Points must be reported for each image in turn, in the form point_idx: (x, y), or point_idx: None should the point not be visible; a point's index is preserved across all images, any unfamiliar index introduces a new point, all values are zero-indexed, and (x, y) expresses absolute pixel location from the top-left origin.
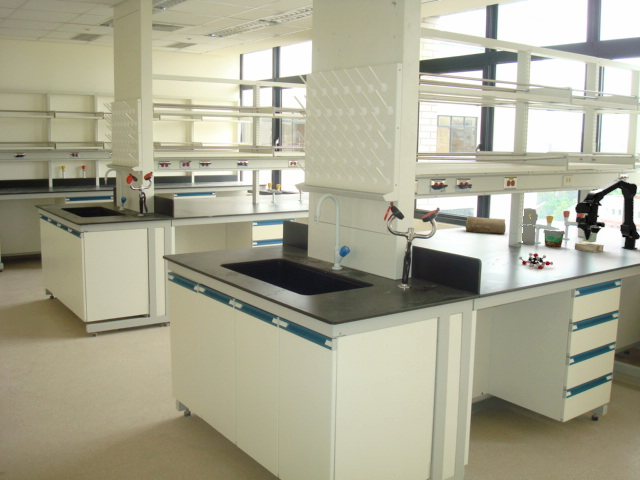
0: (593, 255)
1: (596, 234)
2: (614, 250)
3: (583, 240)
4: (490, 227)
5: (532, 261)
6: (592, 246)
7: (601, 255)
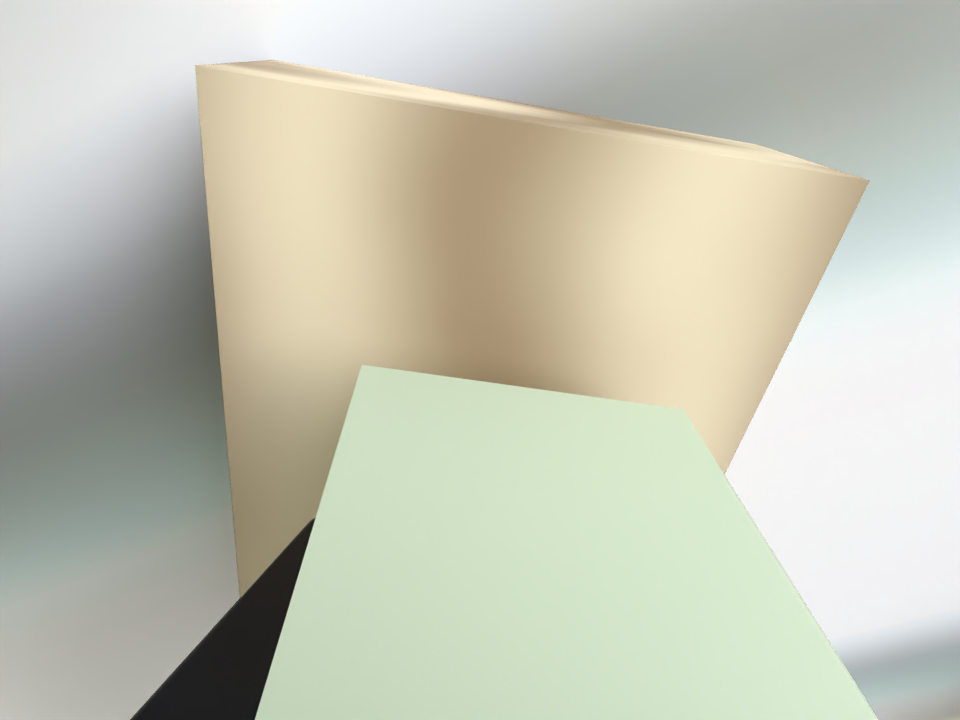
0: (3, 615)
1: None
2: (812, 603)
3: (360, 381)
4: None
5: None
6: (244, 590)
7: (151, 661)
